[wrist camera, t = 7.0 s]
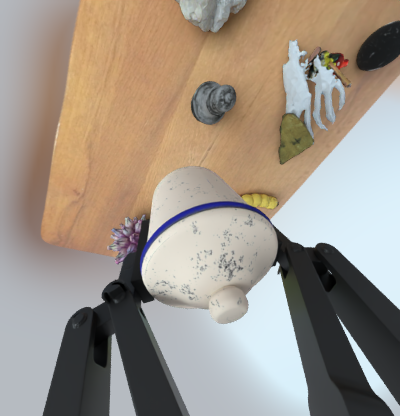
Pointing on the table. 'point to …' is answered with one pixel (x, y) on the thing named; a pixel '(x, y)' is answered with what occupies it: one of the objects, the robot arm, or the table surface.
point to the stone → (293, 137)
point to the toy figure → (329, 64)
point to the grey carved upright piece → (212, 102)
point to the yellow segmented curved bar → (260, 200)
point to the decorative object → (299, 90)
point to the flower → (126, 238)
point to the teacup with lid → (205, 245)
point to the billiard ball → (380, 47)
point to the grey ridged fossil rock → (209, 12)
